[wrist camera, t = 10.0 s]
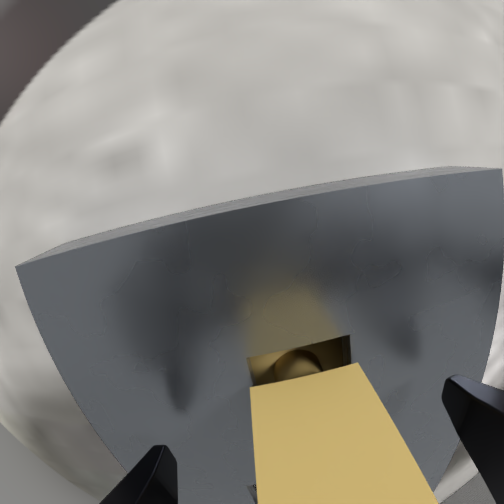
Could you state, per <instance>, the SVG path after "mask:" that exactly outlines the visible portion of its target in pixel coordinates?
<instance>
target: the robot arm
mask: <svg viewBox="0 0 504 504" xmlns="http://www.w3.org/2000/svg"><path fill="white" fill-rule="evenodd" d="M441 399H442V402H443V405H444V407H445V409H446V411H447V413H448V415H449V417H450V419H451V422H452V424H453V426H454V428H455V430H456V432H457V435H458V436H459V438H460V440H461V441H462V443H463V445H464V446H465V448H466V450H467V452H468V453H469V455H470V457H471V458H472V460H473V462H474V464H475V465H476V467H477V469H478V471H479V472H480V474H481V476H482V478H483V480H484V481H485V483H486V485H487V487H488V489H489V491H490V493H491V495H492V496H493V498H494V500H495V502H496V504H504V391H503V390H500V389H497V388H495V387H492V386H489V385H486V384H483V383H480V382H477V381H474V380H472V379H469V378H466V377H463V376H461V375H457V374H455V375H452V376H450V377H448V378H447V379H446V380H445V383H444V387H443V391H442V396H441ZM100 504H178V472H177V461H176V458H175V457H174V455H173V454H172V452H171V451H170V449H169V448H168V446H166V445H154V446H152V447H151V449H150V450H149V451H148V452H147V453H146V454H145V455H144V456H143V457H142V459H141V460H140V461H139V462H138V463H137V464H136V465H135V466H134V467H133V468H132V470H131V471H130V472H129V473H128V474H127V475H126V476H125V477H124V478H123V479H122V480H121V481H120V483H119V484H118V485H117V486H116V487H115V488H114V489H113V490H112V491H111V492H110V493H109V494H108V495H107V496H106V497H105V498H104V499H103V500H102V501H101V502H100Z"/></svg>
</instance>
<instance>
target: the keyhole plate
mask: <svg viewBox="0 0 504 504" xmlns="http://www.w3.org/2000/svg"><path fill="white" fill-rule="evenodd" d="M503 261H504V188H503V175H502V169H501V168H483V167H452V166H449V167H439V168H430V169H421V170H413V171H405V172H397V173H390V174H382V175H375V176H368V177H361V178H355V179H348V180H342V181H336V182H330V183H324V184H318V185H312V186H306V187H301V188H295V189H290V190H284V191H279V192H274V193H269V194H264V195H259V196H254V197H249V198H244V199H239V200H234V201H229V202H225V203H220V204H216V205H211V206H207V207H202V208H198V209H193V210H189V211H185V212H180V213H176V214H172V215H168V216H164V217H160V218H156V219H152V220H148V221H144V222H140V223H136V224H132V225H128V226H125V227H121V228H117V229H113V230H110V231H106V232H103V233H99V234H95V235H92V236H88V237H85V238H81V239H78V240H75V241H71V242H68V243H64V244H62V245H60V246H57V247H55V248H53V249H51V250H49V251H46V252H44V253H42V254H40V255H38V256H36V257H34V258H32V259H30V260H27V261H25V262H23V263H21V264H19V265H17V266H15V268H16V271H17V274H18V277H19V280H20V283H21V286H22V289H23V292H24V294H25V297H26V300H27V302H28V305H29V308H30V310H31V313H32V315H33V318H34V320H35V322H36V325H37V327H38V329H39V332H40V334H41V336H42V338H43V340H44V343H45V345H46V347H47V349H48V351H49V353H50V355H51V357H52V359H53V361H54V363H55V365H56V367H57V369H58V371H59V373H60V374H61V376H62V378H63V380H64V382H65V383H66V385H67V387H68V389H69V390H70V392H71V394H72V395H73V397H74V399H75V400H76V402H77V404H78V405H79V407H80V408H81V410H82V412H83V413H84V415H85V416H86V418H87V419H88V421H89V422H90V424H91V425H92V427H93V428H94V430H95V431H96V432H97V434H98V435H99V437H100V438H101V439H102V441H103V442H104V443H105V445H106V446H107V447H108V449H109V450H110V451H111V453H112V454H113V455H114V457H115V458H116V459H117V460H118V462H119V463H120V464H121V465H122V466H123V468H124V469H125V470H126V471H127V472H128V473H129V472H130V471H131V470H132V468H133V467H134V466H135V465H136V464H137V463H138V462H139V461H140V460H141V459H142V457H143V456H144V455H145V454H146V453H147V452H148V451H149V450H150V449H151V447H152V446H154V445H166V446H168V448H169V449H170V451H171V452H172V454H173V455H174V457H175V458H176V461H177V472H178V504H258V499H257V493H256V491H255V489H254V487H253V485H255V484H256V472H255V458H254V444H253V429H252V414H251V399H250V387H254V386H257V384H256V380H255V377H254V373H253V369H252V365H251V361H250V357H253V356H258V355H264V354H269V353H274V352H278V351H283V350H288V349H292V348H297V347H301V346H305V345H310V344H314V343H318V342H322V341H326V340H330V339H334V338H337V337H341V344H342V361H343V366H347V365H350V364H354V363H357V362H358V363H359V365H360V367H361V368H362V370H363V372H364V373H365V375H366V377H367V378H368V380H369V382H370V383H371V385H372V387H373V388H374V390H375V392H376V393H377V395H378V397H379V398H380V400H381V402H382V404H383V405H384V407H385V409H386V410H387V412H388V414H389V415H390V417H391V419H392V421H393V422H394V424H395V426H396V428H397V429H398V431H399V433H400V435H401V436H402V438H403V440H404V442H405V443H406V445H407V447H408V449H409V450H410V452H411V454H412V456H413V457H414V459H415V461H416V463H417V465H418V466H419V468H420V470H421V472H422V474H423V476H424V477H425V479H426V481H427V483H428V485H429V487H430V488H431V490H432V492H434V490H435V489H436V487H437V485H438V483H439V481H440V480H441V478H442V476H443V474H444V472H445V470H446V468H447V466H448V464H449V462H450V460H451V458H452V456H453V454H454V452H455V450H456V448H457V446H458V443H459V441H460V438H459V436H458V435H457V432H456V430H455V428H454V426H453V424H452V422H451V419H450V417H449V415H448V413H447V411H446V409H445V407H444V405H443V402H442V399H441V396H442V391H443V387H444V383H445V380H446V379H447V378H448V377H450V376H452V375H455V374H457V375H461V376H463V377H466V378H469V379H472V380H474V381H477V382H480V383H481V382H482V379H483V375H484V372H485V368H486V364H487V361H488V357H489V353H490V348H491V344H492V339H493V335H494V330H495V324H496V319H497V313H498V307H499V300H500V292H501V284H502V274H503Z"/></svg>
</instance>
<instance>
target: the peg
mask: <svg viewBox="0 0 504 504" xmlns="http://www.w3.org/2000/svg"><path fill="white" fill-rule="evenodd" d="M250 361H251V365H252V369H253V373H254V377H255V380H256V384H257V386H254V387H250V399H251V414H252V429H253V444H254V458H255V472H256V486H257V499H258V504H439V503H438V502H437V500H436V498H435V496H434V494H433V492H432V490H431V488H430V487H429V485H428V483H427V481H426V479H425V477H424V476H423V474H422V472H421V470H420V468H419V466H418V465H417V463H416V461H415V459H414V457H413V456H412V454H411V452H410V450H409V449H408V447H407V445H406V443H405V442H404V440H403V438H402V436H401V435H400V433H399V431H398V429H397V428H396V426H395V424H394V422H393V421H392V419H391V417H390V415H389V414H388V412H387V410H386V409H385V407H384V405H383V404H382V402H381V400H380V398H379V397H378V395H377V393H376V392H375V390H374V388H373V387H372V385H371V383H370V382H369V380H368V378H367V377H366V375H365V373H364V372H363V370H362V368H361V367H360V365H359V363H358V362H357V363H354V364H350V365H347V366H343V361H342V344H341V337H337V338H334V339H330V340H326V341H322V342H318V343H314V344H310V345H305V346H301V347H297V348H292V349H288V350H283V351H278V352H274V353H269V354H264V355H258V356H253V357H250Z"/></svg>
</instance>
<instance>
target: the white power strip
mask: <svg viewBox="0 0 504 504" xmlns="http://www.w3.org/2000/svg"><path fill="white" fill-rule="evenodd" d="M441 504H496V502H495V500H494V498H493V496H492V495H491V493H490V491H489V489H488V487H487V485H486V483H485V481H484V480H483V478H482V476H481V474H480V472H479V473H478V474H477V475H476V476H475V477H473V478H472V479H471V480H470V481H469V482H468V483H466V484H465V485H464V486H463V487H462V488H460V489H459V490H458V491H457V492H455V493H454V494H453V495H451V496H450V497H449V498H447V499H446V500H445V501H443V502H442V503H441Z"/></svg>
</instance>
